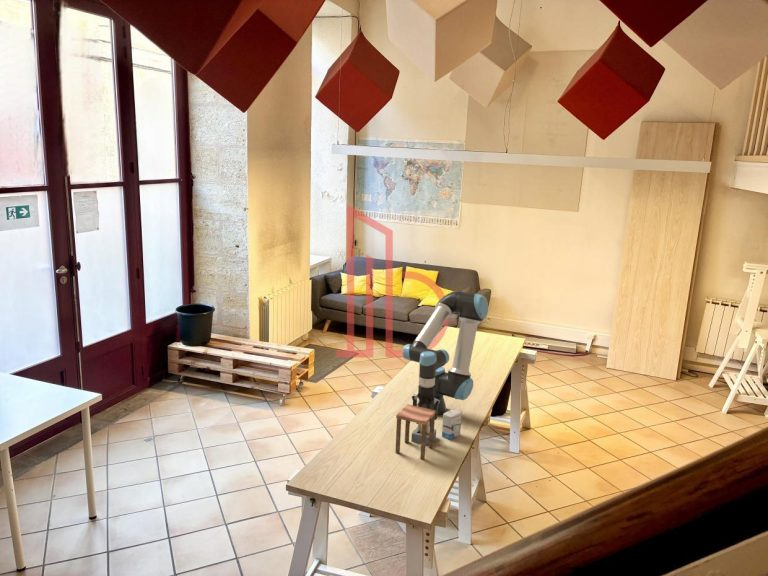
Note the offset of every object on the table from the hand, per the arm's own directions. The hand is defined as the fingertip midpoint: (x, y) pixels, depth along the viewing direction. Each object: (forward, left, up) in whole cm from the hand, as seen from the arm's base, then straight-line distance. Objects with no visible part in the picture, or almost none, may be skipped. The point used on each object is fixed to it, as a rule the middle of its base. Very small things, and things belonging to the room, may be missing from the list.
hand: (424, 431), depth 282 cm
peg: (0, 0, -4) cm, 4 cm away
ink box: (-10, +10, -4) cm, 15 cm away
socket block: (0, 0, -4) cm, 4 cm away
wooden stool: (+12, 0, -4) cm, 13 cm away
